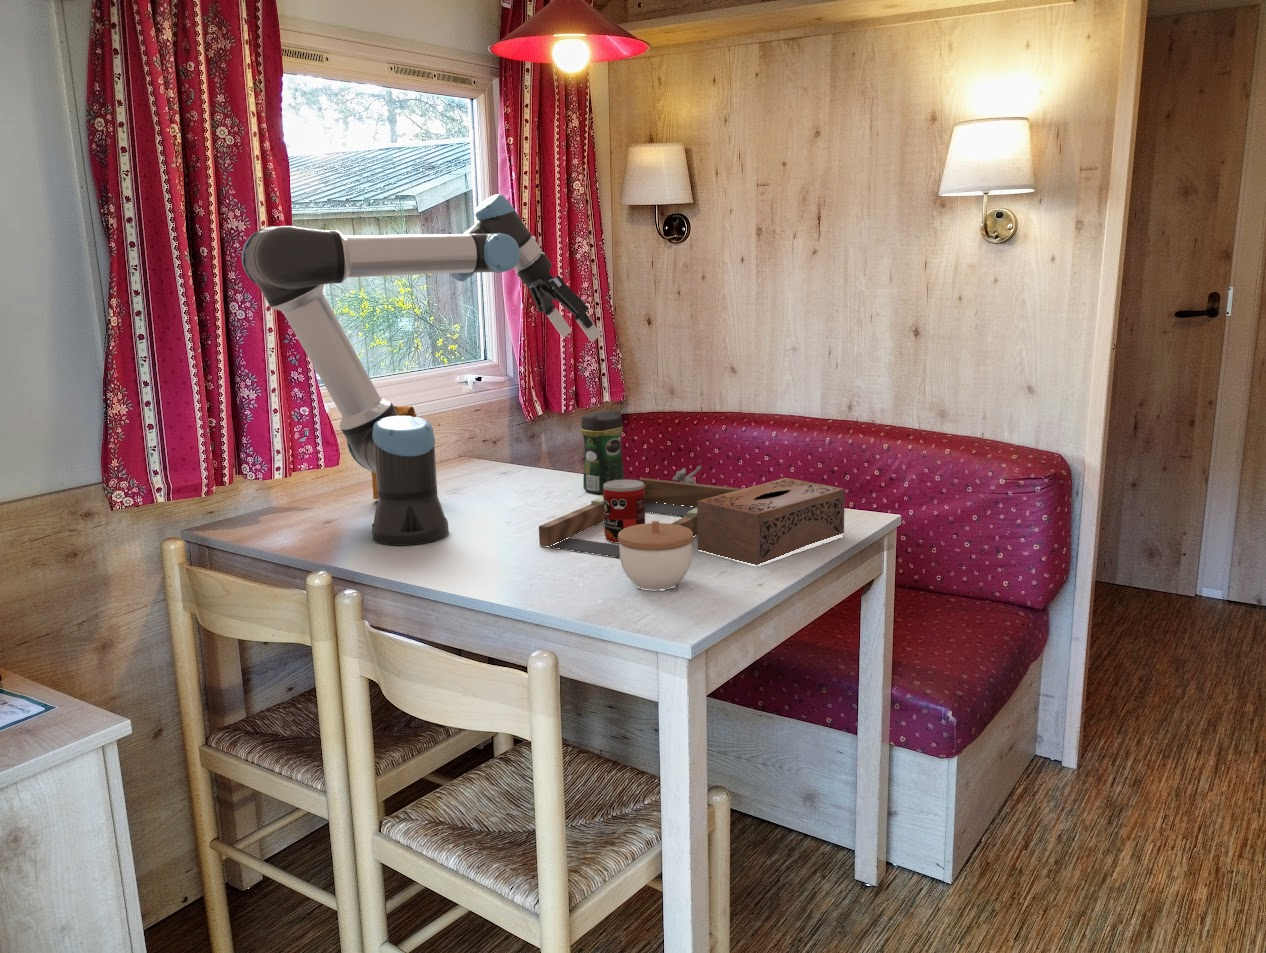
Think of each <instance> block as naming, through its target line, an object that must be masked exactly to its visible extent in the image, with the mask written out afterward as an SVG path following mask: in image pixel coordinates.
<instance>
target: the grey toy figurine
mask: <svg viewBox="0 0 1266 953" xmlns="http://www.w3.org/2000/svg"><path fill="white" fill-rule="evenodd" d="M686 468H687V467H683V468H682V469H680V470H678V471H676V472H675V475H674V476H673V477H672V478H671V479H672V481H674V482H678V481H679V482H684V483H693V484H698V483H697V481H696V480H695V479H694V478H693V477H694V476H695V475H696V474H697V472H699V471H700V470H702V465H701V464H700V465H699V466H696V469H695V470H693V472H691V473H689V474H687V475H686V473H687V470H686Z"/></svg>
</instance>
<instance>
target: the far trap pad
mask: <svg viewBox="0 0 1266 953" xmlns="http://www.w3.org/2000/svg"><path fill="white" fill-rule="evenodd" d="M694 508H696V507H690V506H681V505H673V504H664V503H656V502H646V503H645V513H646V512H651V513H650V514H654V513H661V514H660V515H662V514H669V515H668V516H670V514H671V515H677V516H676V517H678V516H686V513H687V512H689V511H691V510H692V509H694ZM652 512H653V513H652Z"/></svg>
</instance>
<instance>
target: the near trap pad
mask: <svg viewBox="0 0 1266 953" xmlns="http://www.w3.org/2000/svg"><path fill="white" fill-rule="evenodd" d="M550 547H554V548H560V549H559V550H561V549H567V550H574V551H580V552H579V553H581V552H588V553H594V554H601V555H608V556H615V557H620V552H619V544H616V543H615V544H614V543H606V542H601V541H600V542H599V541H593V540H586V539H579V538H574V537H570V538H568V539H565V540H563V541H561V542H559V543H557V544H555V545H552V546H550ZM550 547H549V548H550ZM554 548H553V549H554ZM567 550H566V551H567ZM574 551H573V552H574ZM594 554H593V555H594ZM601 555H600V556H601Z"/></svg>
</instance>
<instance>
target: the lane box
mask: <svg viewBox="0 0 1266 953" xmlns="http://www.w3.org/2000/svg"><path fill="white" fill-rule="evenodd" d="M638 481H641V482H643V483H644V491H645V503H646V502H657V503H666V504H674V505H684V506H693V507H696V508H694V509H692V510H691V511H689V512H687V513H686V516H685V517H680V518H679V519H677V520H676V521H675V520H674V521H673V522H671V523H670V524H676V525H681V526H684V527H687V528H689V529H690V530H691V531H692V532H693V536H695V535H697V501H699V500H703V499H706V498H710V497H714V496H718V495H722V494H726V493H729V492H733V491H737V490H741V488H738V487H730V486H729V487H728V486H720V485H711V484H701V483H697V484H693V483H684V482H680V481H675V480H672V481H671V480H664V479H663V480H662V479H655V478H644V477H641V478H639V479H638ZM603 521H604V499H603V496H600V497H598V498H596V499H595V498H594V499H593V500H591V502H590V504H588V505H586V506H583V507H581V508H579V509H576V510H574V511H571V512H569V513H567V514H564V515H562V516H559V517H556V518H554V519H553V520H550V521H548V522H545V523H543V524H541V525H539V526H538V536H539V537H538V538H539V540H538V541H539V546H540V545H541V546H551V545H553V544H555V543H557V542H560V541H562V540H564V539H566V538H568V537H570V538H572V537H574V536H573V535H575V534H577V533H579V532H581V531H583V532H585V531H584V530H586V529H588V528H590V527H592V526H594V527H596V526H598V525H597V524H599V523H601V522H603ZM603 523H604V522H603ZM601 524H602V523H601ZM595 525H596V526H595ZM599 525H600V524H599ZM592 528H593V527H592ZM590 529H591V528H590ZM588 530H589V529H588ZM586 531H587V530H586ZM581 533H582V532H581ZM579 534H580V533H579ZM577 535H578V534H577ZM571 536H572V537H571ZM575 536H576V535H575ZM541 546H540V547H541Z"/></svg>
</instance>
